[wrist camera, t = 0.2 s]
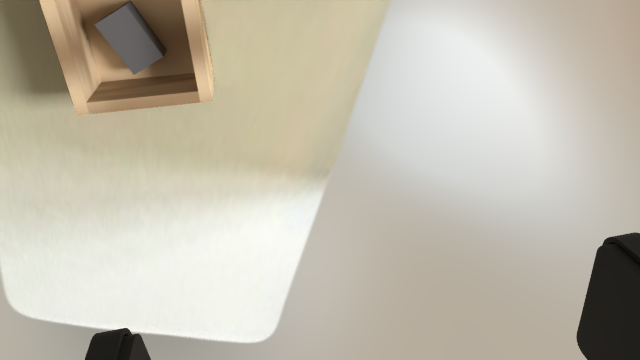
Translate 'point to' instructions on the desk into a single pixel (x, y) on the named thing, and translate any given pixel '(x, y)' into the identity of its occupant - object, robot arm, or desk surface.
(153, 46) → the eraser
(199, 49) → the oak box
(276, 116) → the desk surface
